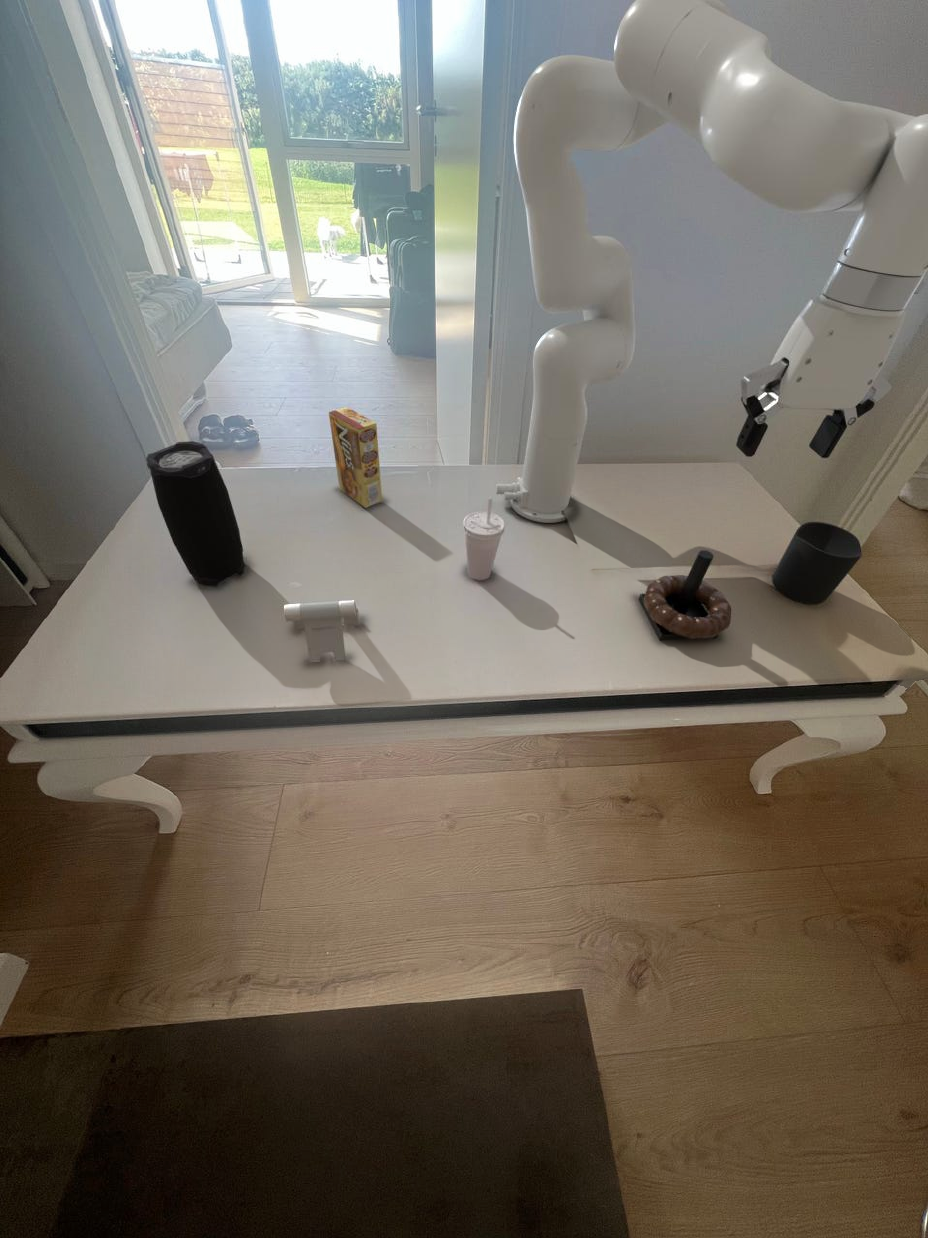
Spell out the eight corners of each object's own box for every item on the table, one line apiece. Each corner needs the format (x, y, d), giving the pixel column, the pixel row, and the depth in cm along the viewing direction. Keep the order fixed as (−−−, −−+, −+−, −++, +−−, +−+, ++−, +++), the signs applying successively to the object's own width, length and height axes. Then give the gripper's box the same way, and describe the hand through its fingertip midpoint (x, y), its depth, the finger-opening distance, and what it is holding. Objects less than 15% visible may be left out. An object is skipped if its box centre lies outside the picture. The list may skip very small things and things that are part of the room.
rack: (659, 640, 76) (688, 575, 68) (638, 599, 83) (662, 535, 74) (716, 638, 77) (753, 574, 69) (691, 597, 84) (722, 534, 75)
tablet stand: (359, 618, 76) (354, 574, 70) (360, 659, 70) (354, 614, 65) (297, 622, 75) (287, 577, 69) (294, 664, 69) (282, 619, 63)
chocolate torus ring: (660, 644, 74) (667, 629, 72) (630, 587, 83) (636, 572, 81) (741, 640, 75) (750, 626, 73) (703, 584, 84) (711, 570, 82)
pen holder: (841, 599, 85) (879, 550, 78) (800, 613, 82) (835, 563, 75) (796, 565, 91) (827, 517, 84) (756, 576, 88) (784, 527, 81)
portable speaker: (178, 587, 78) (127, 468, 65) (205, 550, 85) (163, 435, 72) (234, 592, 78) (195, 474, 65) (257, 555, 85) (225, 440, 71)
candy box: (383, 501, 99) (378, 422, 88) (365, 509, 96) (357, 429, 86) (355, 483, 103) (347, 405, 92) (337, 490, 101) (327, 411, 90)
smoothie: (495, 588, 82) (505, 512, 73) (455, 581, 83) (460, 505, 73) (501, 564, 87) (511, 489, 77) (463, 557, 88) (469, 483, 78)
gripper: (919, 284, 55) (828, 439, 67) (767, 275, 53) (701, 436, 65) (975, 304, 49) (865, 468, 62) (808, 295, 47) (728, 466, 60)
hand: (781, 451), depth 63 cm, fingers open, 9 cm apart
